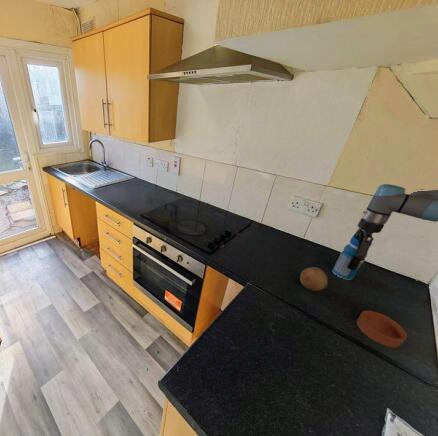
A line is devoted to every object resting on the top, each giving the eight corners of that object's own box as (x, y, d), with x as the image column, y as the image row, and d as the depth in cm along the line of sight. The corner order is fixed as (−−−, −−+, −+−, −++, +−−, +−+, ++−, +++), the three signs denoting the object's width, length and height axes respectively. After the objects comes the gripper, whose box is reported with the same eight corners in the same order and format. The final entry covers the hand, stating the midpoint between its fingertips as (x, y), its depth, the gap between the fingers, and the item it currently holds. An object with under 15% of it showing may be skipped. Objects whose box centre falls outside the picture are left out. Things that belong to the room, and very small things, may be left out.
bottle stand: (395, 328, 82) (401, 321, 80) (405, 354, 73) (412, 347, 71) (354, 312, 87) (359, 305, 86) (358, 334, 78) (364, 327, 77)
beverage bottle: (331, 275, 107) (351, 239, 98) (330, 266, 113) (349, 232, 104) (354, 283, 103) (377, 246, 94) (351, 273, 109) (372, 238, 100)
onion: (316, 299, 92) (327, 280, 88) (292, 284, 100) (300, 266, 95) (326, 290, 97) (336, 272, 93) (302, 277, 105) (310, 259, 100)
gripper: (357, 209, 106) (337, 247, 115) (366, 229, 88) (341, 272, 97) (378, 214, 102) (356, 253, 112) (392, 235, 84) (363, 279, 94)
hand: (349, 262), depth 105 cm, fingers open, 12 cm apart
